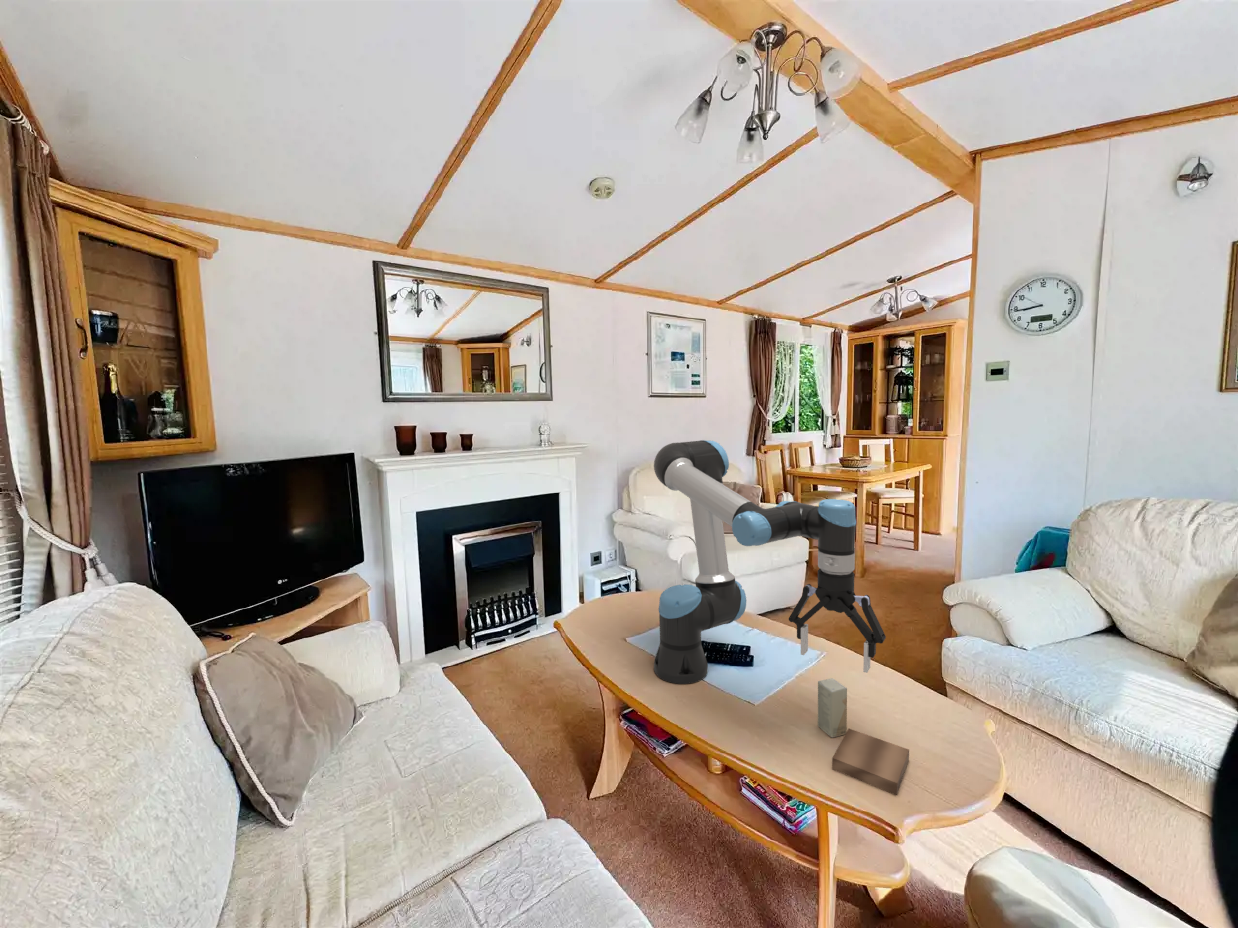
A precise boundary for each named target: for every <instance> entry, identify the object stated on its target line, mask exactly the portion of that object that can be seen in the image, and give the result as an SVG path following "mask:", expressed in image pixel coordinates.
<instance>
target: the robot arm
mask: <svg viewBox="0 0 1238 928" xmlns="http://www.w3.org/2000/svg"><path fill="white" fill-rule="evenodd" d="M729 467H730V461H729V457H728V453H727V452H726V450H725V448H724V447H723V446H722V445H721V444H720V443H719V442H717V441H714V440H705V439H702V440H693V441H692V440H691V441H682V442H681V441H680V442H672V443H669V444H666V445H664V446H663V447H662V448H661V449H660V450H658V452H657V453H656V455H655V456H654V462H653V471H654V474H655V476H656V478H657V479H658V481H659V482H660V483H661V484H662V485H663V486H665V487H666V488H667V489H669V490H671V491H676V492H677V491H679V493H680V492H681V494H683V495H684V496H686V497H688V499H690V500H689V501H690V509H691V516H692V525H693V531H694V532H693V533H694V539H695V548H696V556H697V565H698V573H699V574H698V575H697V577H696V578H695V579H694V584H695V585H693V584H686V583H683V585H682V584H677V585H673V586H669V587H667V588H666V589H664V590H663V591H662V592H661V594H660V597H659V604H658V613H659V616H658V619H659V645H658V648H657V650H656V654H655V658H654V661H653V671H654V674H655V675H656V676H657V677H658V678H660V679H661V680H663V681H665V682H669V683H672V684H676V685H677V684H681V685H682V684H683V685H686V684H687V685H688V684H693V683H697V682H700V681H701V680H703V679H704V678H706V677H707V675H708V672H709V670H708V666H709V665H708V660H707V658H706V654H705V652H704V649H703V646H702V632H703V631H706V630H707V631H708V630H710V629H713V628H717V627H719V626H723V625H728V624H731V623H733V622H735V621H737V620H739V619H740V618H742V616H743V615H744V614H745V611H746V608H747V596H746V595H747V594H746V592H745V589H743V586H742V585H741V583H740V582H739V581H737V580H736V576H735V575H734V574H732V573H731V572H730V571H729V563H728V554H727V546H726V538H725V530H724V524H723V522H724V523H726V524H727V525H728V526H730V527H731V531H732V534H733V537H734V538H736V541H737V543H739V544H740V545H742V546H744V547H752V546H755V547H756V546H759V547H760V546H761V545H762V546H763V545H765V544H769V543H773V542H777V541H778V542H779V541H782V540H787V539H791V538H796V537H804V538H808V539H812V540H817V567H818V568H819V569H817V587H814V586H812V584H810V583H808V584H806V585H805V586H803V588H802V593H801V596H800V599H799V600H798V601H797V603H796V605H795V607H794V609H793V610H792V611H791V614H790V616H789V617H788V621H789V622H790V623H794V624H795V625H796V638H797V639H799V640H800V655H801V656H805V654H806V653H808V651H809V624H807V623H806V622H807V621H808V620H810V618H812V617H813V616H814V615H815V614H816V613H817V612H819V611H820V610H821V609H822V608H824V609H826V611H829V612H831V611H832V612H833V611H834V612H835V613H838V614H842V613H844V614H845V615H846V617H847V618H849V619H850V620H851V622H852V623H853V624H854V626H855V627H856V628H857V629H858V631H859V632H860V633H861V635H862V636H863V637H864V639H865V641H864V642H863V668H862V669H863V673H868V672H869V671H870V669H871V658H874V657H875V656H876V653H877V644H884V642H885V641H886V637H887V635H886V634H885V632H884V629H883V628H882V626H881V624H880V622H879V620H878V618H877V615H876V614H875V611H874V609H873V607H872V605H871V597H870V595H868V594H865V595H864V596H863V595H856V593H855V572H854V571H855V569H856V568H855V565H856V563H855V561H856V560H855V558H856V555H855V552H856V551H855V550H856V548H855V547H856V546H855V545H856V544H855V541H856V540H855V539H856V526H857V519H856V506H855V504H854V503H853V502H852V501H850V500H847V499H836V498H827V499H823V500H820V501H819V503H818V506H817V505H813V504H812V505H811V504H808V503H807V504H806V503H801V502H798V501H794V500H792V501H790V500H784V501H783V500H782V501H780V502H779V503H778V504H776V506H775V507H768V508H763V507H761V506H759V505H758V504H755V502H753V501H752V500H749V499H748V498H746V497H745V496H743V495H741V494H739V493H738V492H737V491H734V490H732V488H730V487H728V486H726V485H724V481H723V478H724V477H725V476H726V475H727V473H728V470H729ZM814 594H815V595H816V598H818V600H819V602H817V603H816V604H815V605H814V606H813V607H812V608H811V609H809V610H808V611H807V612H806V613H805V614H804V615H803V616H801V617H799V616H800V614H801V611H802V610H803V609H804V607H805V605H806V604H807V602H808V600H809V599H810V598H811V597H812V596H813V595H814ZM855 602H856V603H858V605H859V606H860V607H861V610H862V612H863V615H864V616H865V619H866V621H867V622H866V621H865V620H864V619H863V618H862V615H861V614H859V612H858V610H857V608H856V606H855V605H854V603H855ZM867 623H868V624H867Z"/></svg>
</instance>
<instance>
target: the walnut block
mask: <svg viewBox="0 0 1238 928" xmlns="http://www.w3.org/2000/svg"><path fill="white" fill-rule="evenodd" d="M909 756H910V749H908V748H906V747H904V746H900V745H898V744H895V743H892V742H889V741H886V740H882V739H881V738H878V737H874V736H872V735H869V734H865V732H864V733H863V732H861V731H858V730H855V729H852V728H848V729H847V732H846V734H844V736H843V738H842V739H841V741H840V743H839V745H838V746H837V749H836V751H835V752H834V754H833V756H832V758H831V759H832V762H831V764H832V765H831V769H832V770H833V771H836V772H838V773H840V774H843V775H846V776H848V777H851V778H853V779H855V780H858V781H861V782H863V783H865V784H868V785H869V786H872V787H875V788H877V789H880V790H882V791H885V792H888V793H889V794H892V795H895V796H898V793H899V791H900V788H901V784H902V782H903V779H904V776H905V774H906V771H907V767H908V764H909V761H910V757H909Z"/></svg>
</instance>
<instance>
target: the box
mask: <svg viewBox="0 0 1238 928" xmlns="http://www.w3.org/2000/svg"><path fill="white" fill-rule="evenodd" d="M847 708H848V688H847V687H846V686H845V685H843V684H842V683H840V681H838V680H836V679H835V678H833V677H832V678H831V677H830V678H827V679H822V680H817V727H819V728H820V729H821V730H822V731H823V732H824V733H825V734H826V735H828V736H829V737H830V738H836V737H840V736H843V735H844V736H845V734H846V732H847V730H848V729H847V728H848V725H847V724H848V721H847V720H848V717H847V716H848V709H847Z"/></svg>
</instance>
